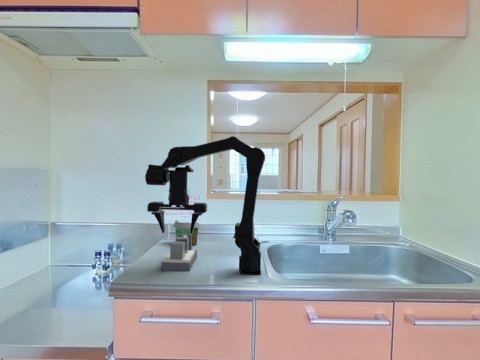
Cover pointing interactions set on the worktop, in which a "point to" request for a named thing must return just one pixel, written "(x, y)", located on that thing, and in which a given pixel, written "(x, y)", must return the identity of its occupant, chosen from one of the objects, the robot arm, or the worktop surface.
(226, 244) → the worktop surface
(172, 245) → the block
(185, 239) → the block
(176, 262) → the scale
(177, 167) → the robot arm
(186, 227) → the food container
